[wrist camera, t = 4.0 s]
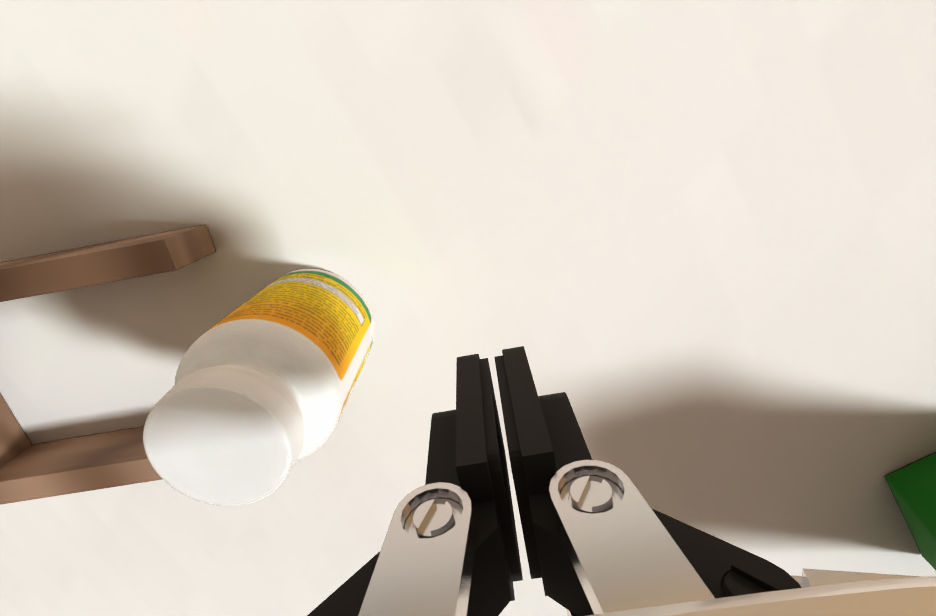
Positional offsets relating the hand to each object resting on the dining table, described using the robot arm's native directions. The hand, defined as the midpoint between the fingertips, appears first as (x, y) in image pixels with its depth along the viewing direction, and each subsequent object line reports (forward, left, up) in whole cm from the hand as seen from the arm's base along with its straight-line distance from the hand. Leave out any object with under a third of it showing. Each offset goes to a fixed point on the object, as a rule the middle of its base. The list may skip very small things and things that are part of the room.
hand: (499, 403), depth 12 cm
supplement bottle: (+8, +1, -10) cm, 13 cm away
